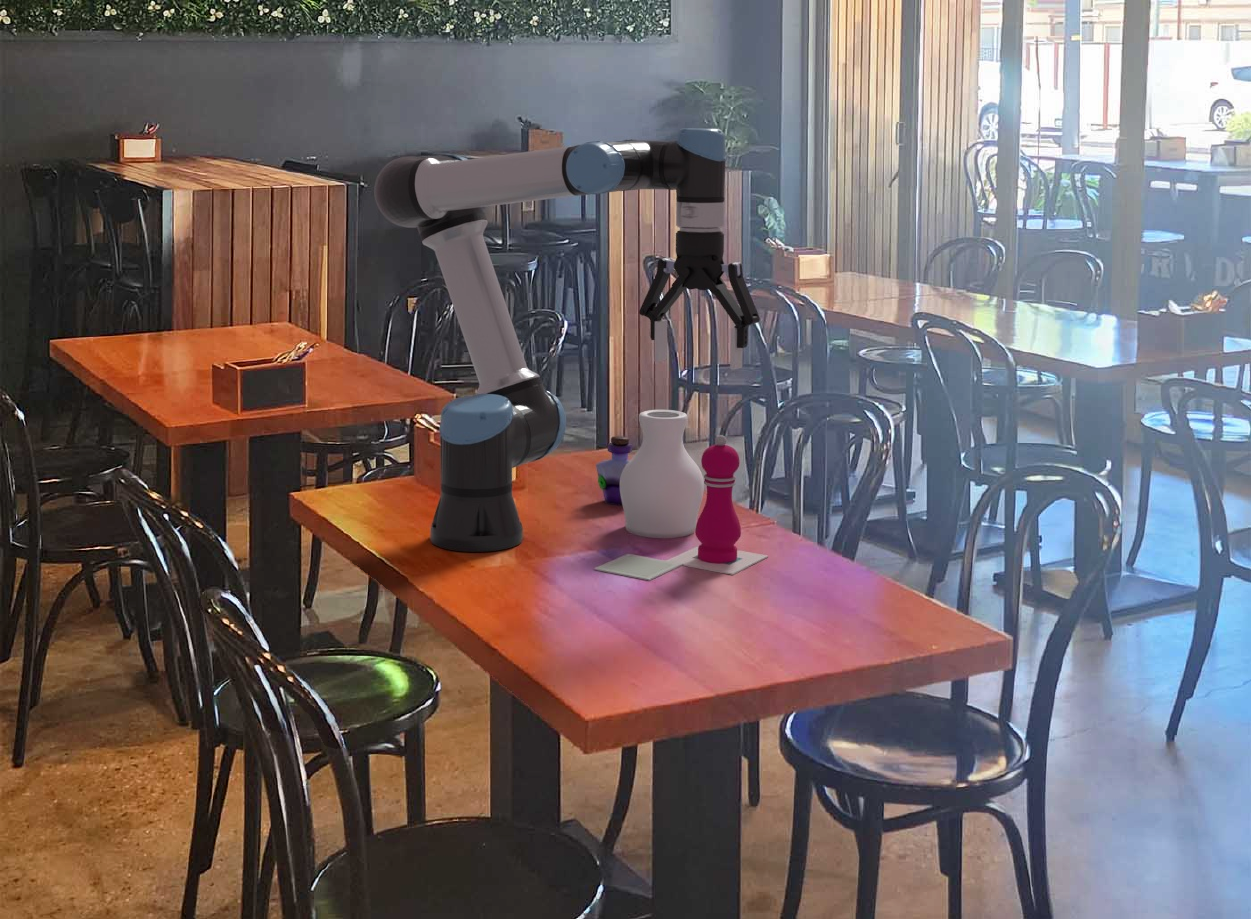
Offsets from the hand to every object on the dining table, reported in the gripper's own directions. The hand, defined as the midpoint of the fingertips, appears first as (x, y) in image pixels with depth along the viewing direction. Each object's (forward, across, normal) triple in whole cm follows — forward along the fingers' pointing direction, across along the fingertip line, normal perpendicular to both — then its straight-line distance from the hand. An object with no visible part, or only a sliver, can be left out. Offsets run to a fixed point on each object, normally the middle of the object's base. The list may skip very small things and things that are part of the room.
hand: (697, 364), depth 255 cm
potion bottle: (+30, -27, +21) cm, 46 cm away
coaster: (+30, -3, -13) cm, 33 cm away
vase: (+31, -11, +9) cm, 34 cm away
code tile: (+31, +5, -2) cm, 31 cm away
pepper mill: (+30, +5, -2) cm, 31 cm away
